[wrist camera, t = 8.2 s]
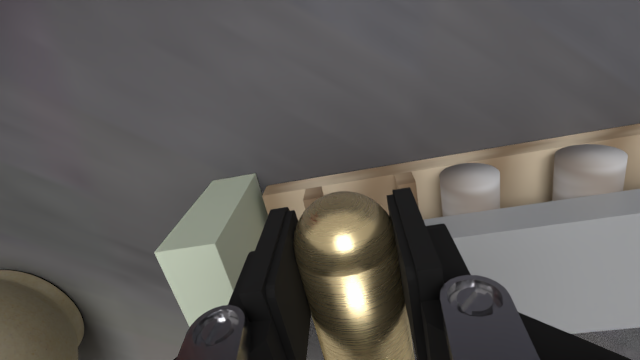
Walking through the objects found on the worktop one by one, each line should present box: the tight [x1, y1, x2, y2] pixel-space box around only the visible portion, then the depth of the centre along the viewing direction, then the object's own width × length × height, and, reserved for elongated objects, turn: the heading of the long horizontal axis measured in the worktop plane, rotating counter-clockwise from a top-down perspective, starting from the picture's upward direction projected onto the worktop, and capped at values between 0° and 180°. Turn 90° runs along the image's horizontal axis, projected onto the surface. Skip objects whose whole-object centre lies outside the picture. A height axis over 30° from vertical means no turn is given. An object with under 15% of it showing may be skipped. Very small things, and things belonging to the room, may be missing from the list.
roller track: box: [262, 124, 640, 220], centre depth 22 cm, size 27×10×4 cm, turn 102°
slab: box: [424, 189, 640, 334], centre depth 18 cm, size 16×7×2 cm, turn 102°
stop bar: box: [154, 173, 268, 327], centre depth 22 cm, size 3×12×8 cm, turn 12°
